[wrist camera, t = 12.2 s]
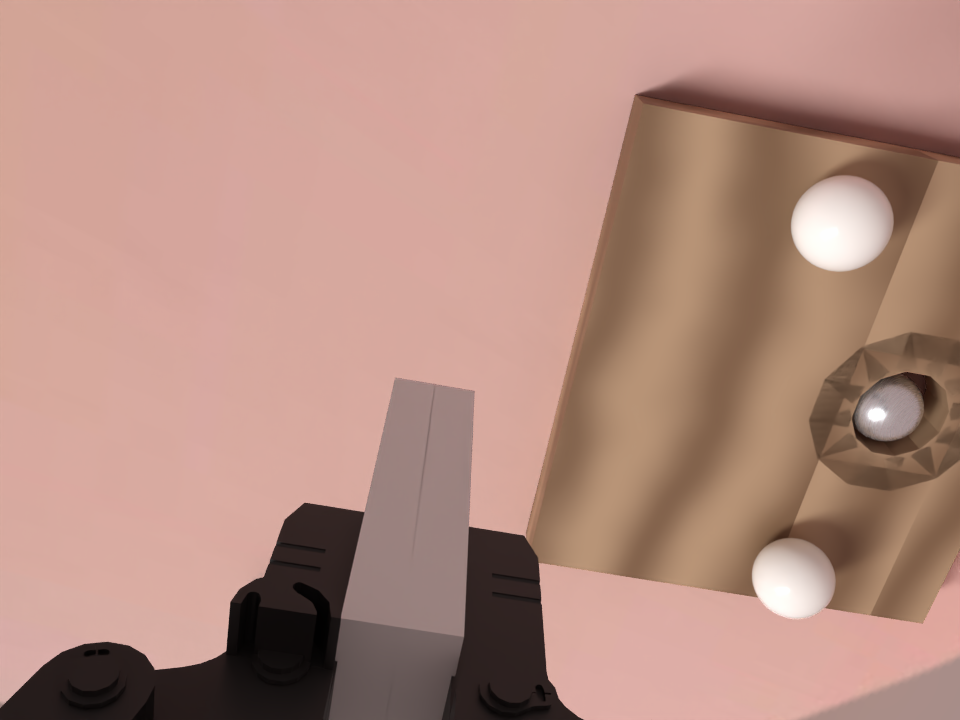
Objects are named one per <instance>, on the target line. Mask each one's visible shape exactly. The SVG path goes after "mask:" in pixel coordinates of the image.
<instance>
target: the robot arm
mask: <svg viewBox="0 0 960 720" xmlns="http://www.w3.org/2000/svg"><path fill="white" fill-rule="evenodd" d="M474 393H475V391H472V390H466V389H460V388H454V387H448V386H442V385H436V384H430V383H425V382H419V381H413V380H407V379H401V378H395V381H394V386H393V390H392V394H391V399H390V403H389V407H388V412H387V416H386V421H385V425H384V429H383V434H382V438H381V443H380V447H379V451H378V456H377V460H376V465H375V469H374V473H373V478H372V482H371V487H370V491H369V495H368V500H367V504H366V508H365V512H360V511H353V510H347V509H341V508H335V507H328V506H322V505H316V504H310V503H304V504H303V505H302V506H300V507H299V508H298V509H297V510H296V511H295V512H293V513H292V514H291V515H290V516H289V517H287V518H286V519H285V521H284V523H283V526H282V529H281V532H280V534H279V537H278V540H277V544H276V546H275V548H274V551H273V554H272V556H271V559H270V564H269V565H268V567H267V570H266V573H265V576H264V577H263V578H259V579H256V580H254V581H252V582H251V583H249V584H247V585H246V586H244V587H242V588H240V590H239V591H238V592H237V594H236V595H235V596H234V598H233V599H232V601H231V603H230V614H229V626H228V638H227V650H226V652H224V653H223V654H221V655H220V656H218V657H217V658H214V659H212V660H209V661H206V662H204V663H201V664H197V665H191V666H186V667H179V668H170V669H160V670H154V667H153V666H152V664H151V663H150V662H149V660H148V659H147V657H146V656H145V655H144V654H143V653H141V652H139V651H137V650H136V649H134V648H132V647H130V646H128V645H122V644H117V643H111V642H101V643H90V644H83V645H80V646H78V647H75V648H72V649H69V650H67V651H64V652H61V653H60V654H59V655H57V656H56V657H54V658H53V659H52V660H50V661H49V662H47V663H46V664H45V665H43V666H42V667H41V668H40V669H39V670H38V671H37V672H36V673H35V674H34V675H33V676H32V677H31V678H30V679H29V680H28V681H27V682H26V683H25V684H24V685H23V686H22V687H21V688H20V689H19V690H18V691H17V692H16V693H15V694H14V695H13V696H12V697H11V698H10V699H9V700H8V701H7V702H6V703H5V704H4V705H3V706H2V707H1V708H0V720H583V719H581V718H579V717H578V716H576V715H575V714H574V713H573V712H571V711H570V710H569V709H568V708H566V707H565V706H564V705H563V703H562V702H561V701H560V700H559V698H558V695H557V692H556V689H555V687H554V686H553V685H552V684H551V682H550V681H549V680H548V676H547V672H546V658H545V644H544V631H543V617H542V604H541V589H540V585H539V583H540V576H539V562H538V557H537V555H536V554H535V552H534V550H533V549H532V547H531V546H530V544H529V543H528V541H527V540H526V538H525V536H523V535H517V534H510V533H504V532H498V531H492V530H486V529H479V528H473V527H469V510H470V486H471V463H472V440H473V416H474Z"/></svg>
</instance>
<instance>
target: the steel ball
mask: <svg viewBox="0 0 960 720" xmlns="http://www.w3.org/2000/svg"><path fill="white" fill-rule="evenodd" d="M923 412H924V401H923V397H922V394H921V392H920V390H919V388H918V387H917V385H916V384H915V383H914V382H913V381H912V380H911V379H909V378H908V377H906V376H905V375H903V374H901V373H900V374H897V375H893V376H890V377H886V378H883V379H880V380H879V381H878V382H877V383H875V384H874V385H873V386H872V387H871V388H870V389H868V390H867V391H866V392H865V393H864V394H863V395H861V396H860V399H859V401H858V404H857V406H856V408H855V411H854V413H853V416H852V422H853V426H854V427H855V428H856V429H857V430H858V431H859V432H860V433H862V434H863V435H865V436H866V437H869V438H871V439H874V440H878V441H894V440H898V439H901V438H903V437H905V436H907V435H909V434H910V433H911V432H913V431H914V430H915V429H916V428H917V426H918V425H919V423H920V421H921V419H922V416H923Z"/></svg>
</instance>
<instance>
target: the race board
mask: <svg viewBox="0 0 960 720" xmlns="http://www.w3.org/2000/svg"><path fill="white" fill-rule="evenodd" d="M839 175H850V176H857V177H861V178H863V179H866V180H868V181H870V182H872V183H873V184H875V185H876V186H877V187H879V188H880V189H881V190H882V191H883V192H884V194H885V195H886V197H887V198H888V200H889V202H890V204H891V207H892V211H893V217H894V226H893V231H892V235H891V238H890V240H889V242H888V244H887V246H886V247H885V249H884V250H883V251H882V253H881V254H880V255H879V256H878V257H877V258H875V259H874V260H873V261H872V262H870V263H869V264H867V265H865V266H863V267H860V268H858V269H855V270H851V271H844V272H835V271H828V270H824V269H821V268H819V267H816V266H815V265H813V264H811V263H810V262H809V261H807V260H806V259H805V258H804V257H803V256H802V255H801V254H800V252H799V251H798V249H797V248H796V246H795V244H794V241H793V238H792V234H791V219H792V214H793V211H794V208H795V206H796V204H797V202H798V200H799V199H800V198H801V196H802V195H803V194H804V193H805V192H806V191H807V190H808V189H809V188H810V187H811V186H813V185H814V184H816V183H818V182H819V181H821V180H824V179H826V178H830V177H833V176H839ZM903 372H910V373H916V374H922V375H924V376H925V382H926V388H927V389H926V391H925V393H924V396H923V401H924V412H923V416H922V419H921V421H920V423H919V425H918V426H917V428H916V429H915V430H914V431H913V432H911V433H910V434H909V435H907V436H905V437H903V438H901V439H898V440H894V441H878V440H874V439H871V438H869V437H866V436H865V435H863V434H862V433H860V432H859V431H858V430H857V429H856V428H854V427H853V422H852V416H853V413H854V411H855V408H856V406H857V404H858V401H859V399H860V396H861V395H863V394H864V393H865V392H866V391H867V390H868V389H870V388H871V387H872V386H873V385H874V384H875V383H877V382H878V381H879V380H880V379H883V378H886V377H890V376H893V375H897V374H900V373H903ZM783 538H798V539H803V540H805V541H808V542H810V543H812V544H814V545H815V546H817V547H818V548H820V549H821V550H822V551H823V552H824V553H825V554H826V556H827V557H828V559H829V560H830V562H831V564H832V566H833V569H834V572H835V578H836V586H835V591H834V594H833V597H832V599H831V601H830V602H829V604H828V605H827V606H826V607H825V608H828V609H834V610H841V611H847V612H853V613H859V614H866V615H872V616H878V617H885V618H891V619H897V620H904V621H910V622H916V623H922V624H923V622H924V620H925V618H926V616H927V614H928V612H929V610H930V608H931V606H932V604H933V602H934V600H935V598H936V596H937V594H938V592H939V590H940V588H941V586H942V584H943V582H944V580H945V578H946V576H947V574H948V572H949V570H950V568H951V566H952V564H953V562H954V560H955V558H956V556H957V554H958V552H959V550H960V157H955V156H949V155H944V154H939V153H934V152H929V151H924V150H919V149H913V148H908V147H903V146H898V145H893V144H888V143H882V142H877V141H872V140H867V139H862V138H857V137H851V136H846V135H841V134H836V133H831V132H826V131H820V130H815V129H810V128H805V127H800V126H795V125H790V124H784V123H779V122H774V121H769V120H764V119H759V118H753V117H748V116H743V115H738V114H733V113H728V112H722V111H717V110H712V109H707V108H702V107H697V106H691V105H686V104H681V103H676V102H671V101H666V100H661V99H655V98H650V97H645V96H640V95H635V97H634V101H633V105H632V109H631V113H630V117H629V121H628V125H627V129H626V133H625V137H624V141H623V145H622V149H621V154H620V158H619V162H618V166H617V170H616V174H615V178H614V182H613V186H612V190H611V194H610V198H609V202H608V206H607V210H606V214H605V218H604V222H603V226H602V230H601V234H600V238H599V242H598V246H597V250H596V254H595V258H594V262H593V266H592V270H591V274H590V278H589V282H588V286H587V290H586V294H585V298H584V302H583V306H582V310H581V314H580V318H579V322H578V326H577V330H576V334H575V338H574V342H573V346H572V350H571V354H570V358H569V362H568V367H567V371H566V375H565V379H564V383H563V387H562V391H561V395H560V399H559V403H558V407H557V411H556V415H555V419H554V423H553V427H552V431H551V435H550V439H549V443H548V447H547V451H546V455H545V459H544V463H543V467H542V471H541V475H540V479H539V483H538V487H537V491H536V495H535V499H534V503H533V507H532V511H531V515H530V519H529V523H528V527H527V531H526V540H527V541H528V543H529V544H530V546H531V547H532V549H533V550H534V552H535V554H536V555H537V557H538V562H539V563H544V564H550V565H557V566H563V567H569V568H576V569H582V570H588V571H595V572H601V573H607V574H614V575H620V576H626V577H632V578H639V579H645V580H651V581H658V582H664V583H670V584H677V585H683V586H689V587H695V588H702V589H708V590H714V591H721V592H727V593H733V594H740V595H746V596H752V597H758V596H757V594H756V592H755V590H754V587H753V582H752V569H753V564H754V561H755V559H756V557H757V555H758V554H759V553H760V551H761V550H762V549H763V548H764V547H765V546H767V545H768V544H770V543H771V542H773V541H776V540H779V539H783Z"/></svg>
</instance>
